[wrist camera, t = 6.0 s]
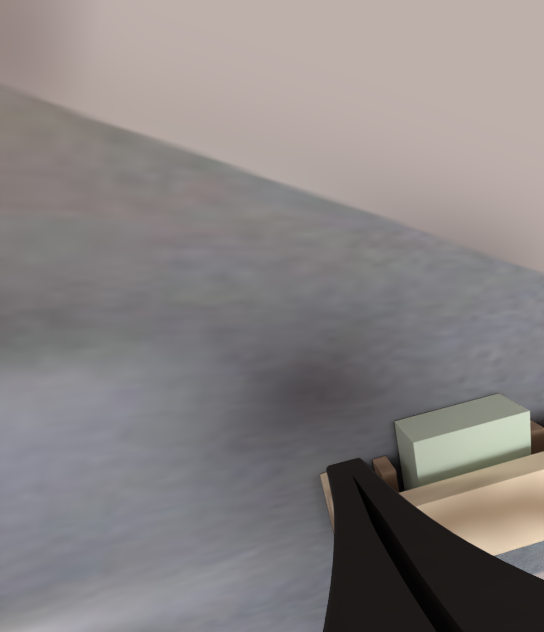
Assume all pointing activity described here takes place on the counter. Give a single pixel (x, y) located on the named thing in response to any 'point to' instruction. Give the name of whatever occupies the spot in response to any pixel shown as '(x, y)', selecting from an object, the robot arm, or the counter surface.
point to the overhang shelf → (481, 500)
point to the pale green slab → (462, 439)
